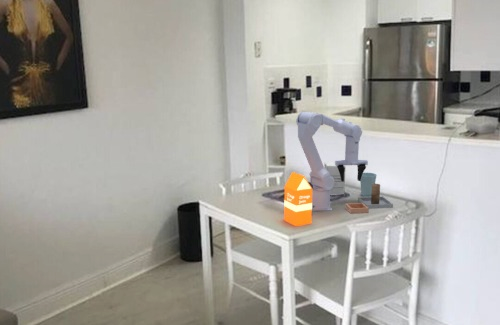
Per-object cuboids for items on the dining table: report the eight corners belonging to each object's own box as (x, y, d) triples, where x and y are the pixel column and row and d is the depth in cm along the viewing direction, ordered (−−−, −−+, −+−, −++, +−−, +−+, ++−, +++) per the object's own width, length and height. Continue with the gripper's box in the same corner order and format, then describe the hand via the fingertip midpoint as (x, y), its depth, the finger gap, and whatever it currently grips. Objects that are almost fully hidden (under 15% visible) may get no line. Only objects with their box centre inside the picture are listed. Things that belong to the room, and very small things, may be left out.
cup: (378, 196, 248) (379, 175, 245) (365, 198, 245) (366, 176, 242) (369, 192, 254) (369, 171, 252) (356, 194, 251) (356, 173, 249)
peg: (372, 205, 232) (373, 185, 230) (370, 203, 235) (371, 183, 233) (380, 205, 232) (381, 185, 230) (378, 202, 235) (379, 183, 233)
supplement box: (323, 191, 257) (324, 161, 254) (341, 191, 257) (342, 161, 254) (325, 196, 248) (326, 165, 245) (344, 196, 248) (345, 165, 245)
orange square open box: (350, 214, 221) (350, 208, 220) (345, 209, 228) (345, 203, 228) (368, 214, 221) (368, 208, 221) (362, 208, 229) (362, 202, 228)
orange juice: (299, 217, 218) (300, 170, 213) (311, 223, 210) (313, 175, 206) (283, 220, 214) (284, 172, 210) (295, 226, 206) (296, 177, 202)
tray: (366, 209, 227) (366, 204, 227) (357, 201, 239) (357, 197, 239) (392, 208, 229) (393, 203, 228) (382, 201, 240) (383, 196, 240)
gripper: (338, 153, 228) (337, 183, 231) (370, 152, 229) (369, 182, 232) (334, 150, 235) (333, 179, 237) (365, 149, 236) (364, 178, 239)
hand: (350, 180), depth 235 cm, fingers open, 7 cm apart
